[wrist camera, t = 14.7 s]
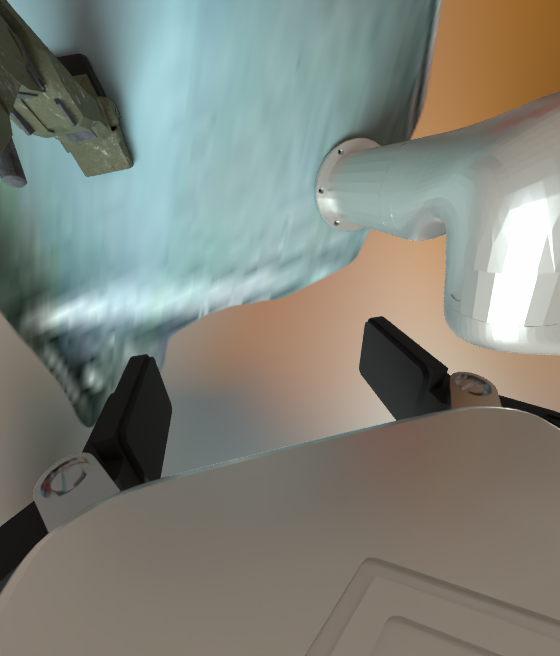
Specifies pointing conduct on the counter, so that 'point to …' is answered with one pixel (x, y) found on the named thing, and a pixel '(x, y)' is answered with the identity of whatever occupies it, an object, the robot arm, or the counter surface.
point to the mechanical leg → (53, 103)
